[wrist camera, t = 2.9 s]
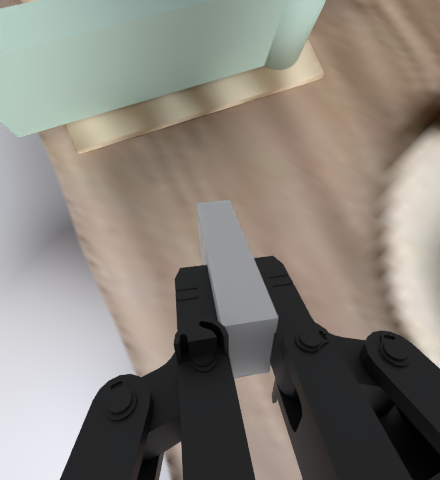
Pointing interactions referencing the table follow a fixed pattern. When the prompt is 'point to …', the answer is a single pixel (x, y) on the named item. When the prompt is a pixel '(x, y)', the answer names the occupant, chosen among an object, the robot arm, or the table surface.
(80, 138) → the pintle board
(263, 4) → the link
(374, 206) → the table surface
